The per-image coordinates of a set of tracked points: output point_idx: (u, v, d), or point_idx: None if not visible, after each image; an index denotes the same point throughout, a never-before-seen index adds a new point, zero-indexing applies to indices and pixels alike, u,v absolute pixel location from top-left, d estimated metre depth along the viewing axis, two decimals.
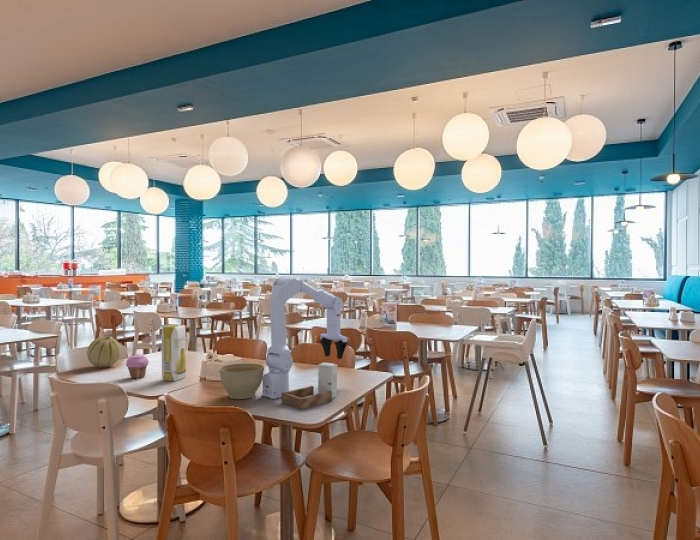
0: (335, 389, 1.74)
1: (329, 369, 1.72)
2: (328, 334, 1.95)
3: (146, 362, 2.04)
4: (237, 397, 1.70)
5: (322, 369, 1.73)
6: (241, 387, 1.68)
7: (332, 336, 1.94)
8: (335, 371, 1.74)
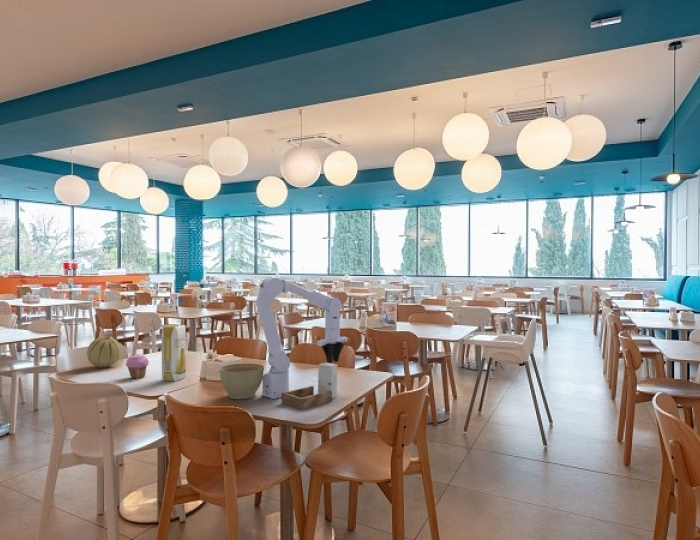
0: (335, 389, 1.74)
1: (329, 369, 1.72)
2: None
3: (146, 362, 2.04)
4: (237, 397, 1.70)
5: (322, 369, 1.73)
6: (241, 387, 1.68)
7: (325, 338, 1.86)
8: (335, 371, 1.74)
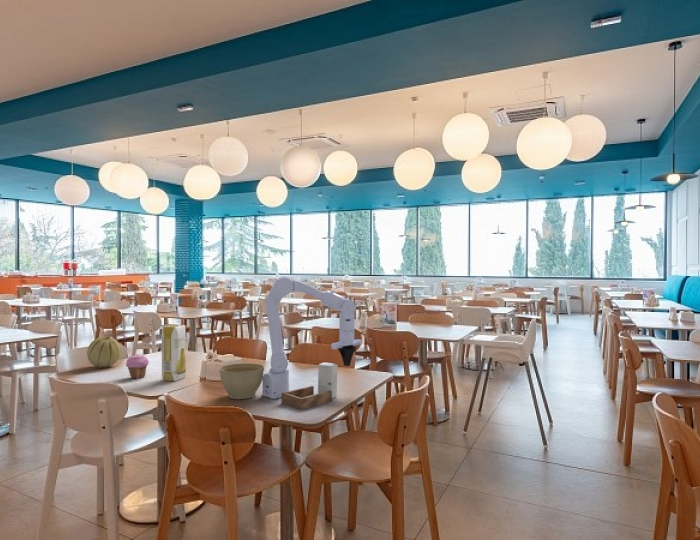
0: (335, 389, 1.74)
1: (329, 369, 1.72)
2: None
3: (146, 362, 2.04)
4: (237, 397, 1.70)
5: (322, 369, 1.73)
6: (241, 387, 1.68)
7: (339, 341, 1.82)
8: (335, 371, 1.74)
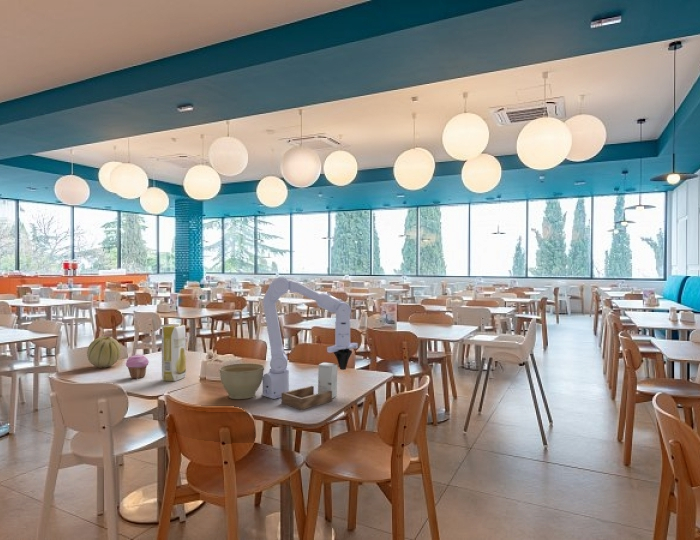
0: (335, 389, 1.74)
1: (329, 369, 1.72)
2: None
3: (146, 362, 2.04)
4: (237, 397, 1.70)
5: (322, 369, 1.73)
6: (241, 387, 1.68)
7: (334, 345, 1.80)
8: (335, 371, 1.74)
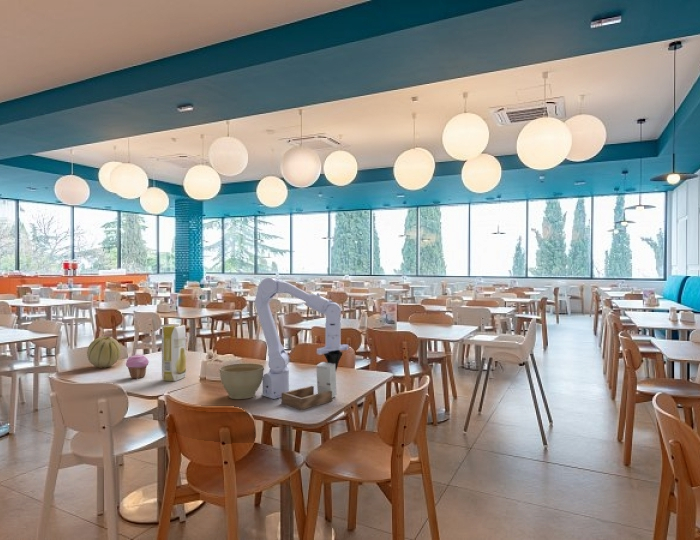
0: (334, 388, 1.74)
1: (327, 370, 1.71)
2: None
3: (146, 362, 2.04)
4: (237, 397, 1.70)
5: (320, 369, 1.72)
6: (241, 387, 1.68)
7: (325, 346, 1.77)
8: (333, 371, 1.72)
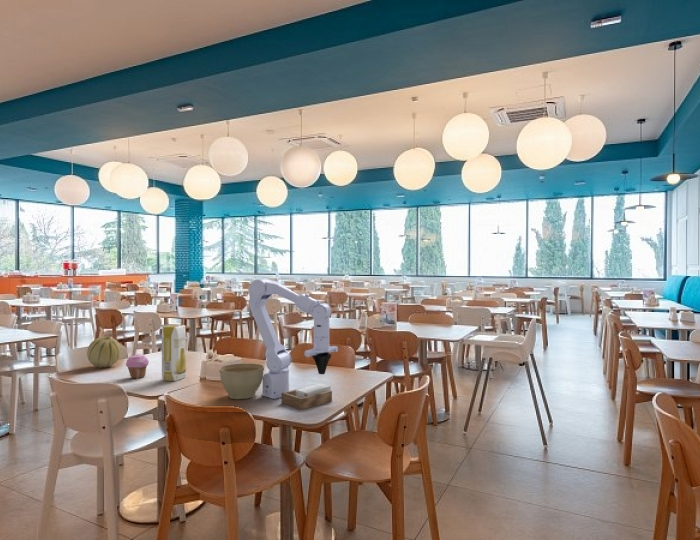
0: (325, 390, 1.69)
1: None
2: None
3: (146, 362, 2.04)
4: (237, 397, 1.70)
5: None
6: (241, 387, 1.68)
7: (313, 348, 1.73)
8: None
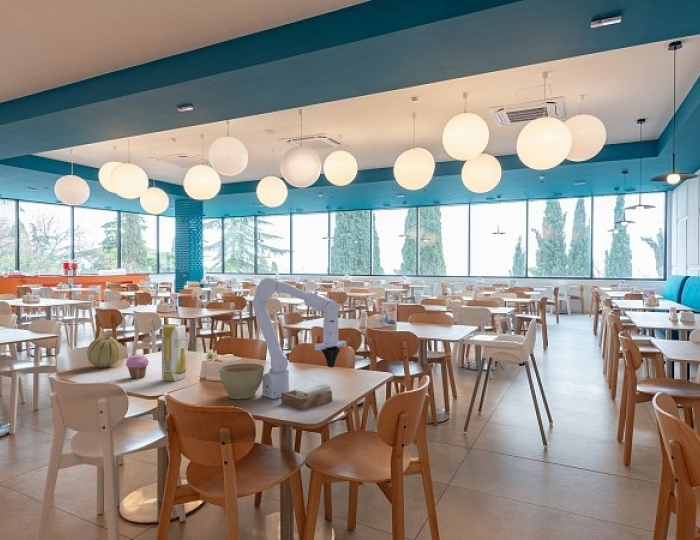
0: (325, 390, 1.69)
1: None
2: None
3: (146, 362, 2.04)
4: (237, 397, 1.70)
5: None
6: (241, 387, 1.68)
7: (323, 342, 1.81)
8: None
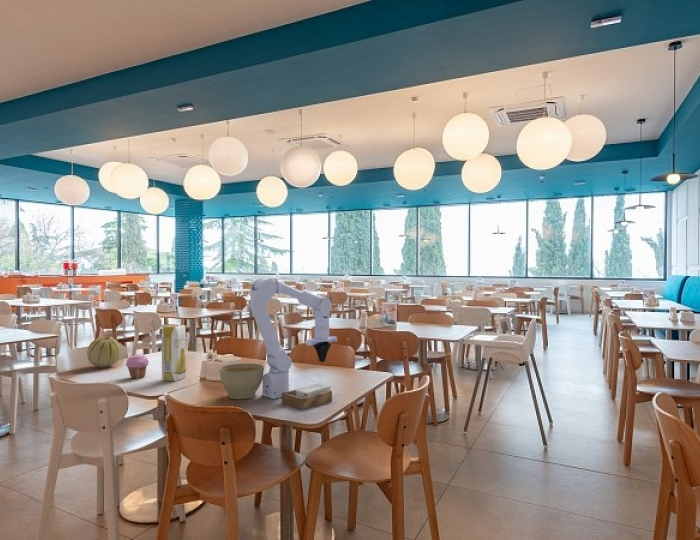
0: (325, 390, 1.69)
1: None
2: None
3: (146, 362, 2.04)
4: (237, 397, 1.70)
5: None
6: (241, 387, 1.68)
7: (314, 338, 1.87)
8: None
